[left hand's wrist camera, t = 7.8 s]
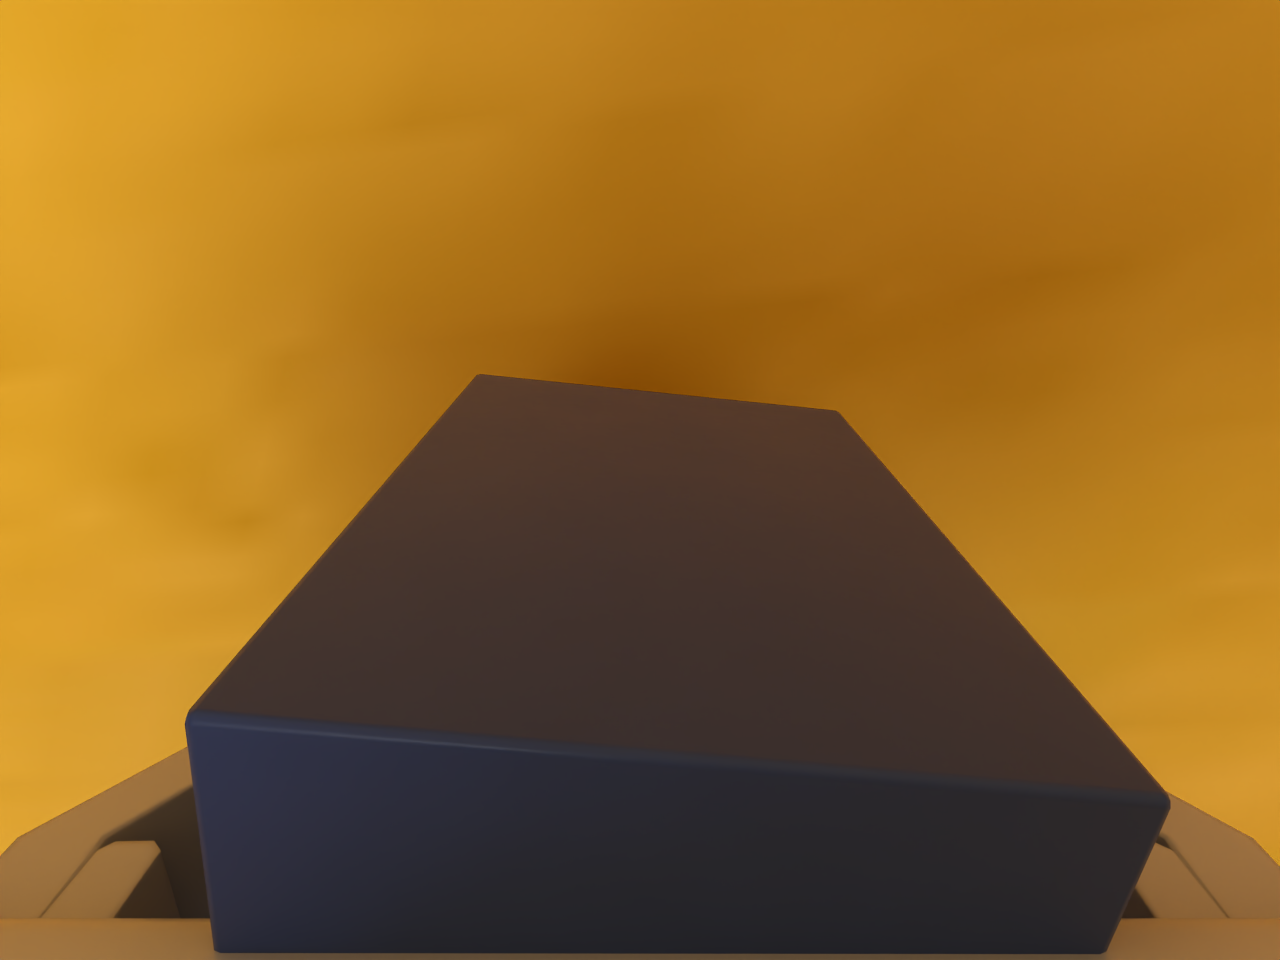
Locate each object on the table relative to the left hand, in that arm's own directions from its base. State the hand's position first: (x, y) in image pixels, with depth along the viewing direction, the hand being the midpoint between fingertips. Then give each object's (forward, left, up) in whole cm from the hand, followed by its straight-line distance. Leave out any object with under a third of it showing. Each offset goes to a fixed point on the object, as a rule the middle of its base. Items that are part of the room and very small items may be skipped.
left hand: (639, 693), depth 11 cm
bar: (+7, +7, -3) cm, 11 cm away
